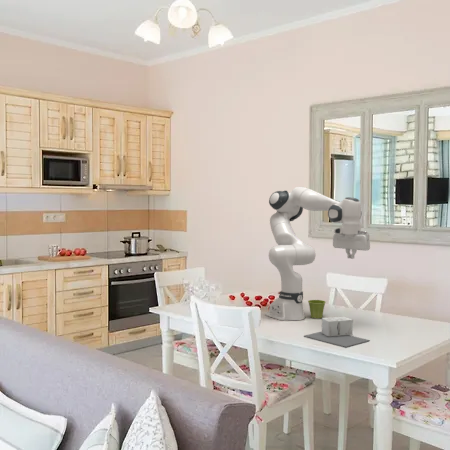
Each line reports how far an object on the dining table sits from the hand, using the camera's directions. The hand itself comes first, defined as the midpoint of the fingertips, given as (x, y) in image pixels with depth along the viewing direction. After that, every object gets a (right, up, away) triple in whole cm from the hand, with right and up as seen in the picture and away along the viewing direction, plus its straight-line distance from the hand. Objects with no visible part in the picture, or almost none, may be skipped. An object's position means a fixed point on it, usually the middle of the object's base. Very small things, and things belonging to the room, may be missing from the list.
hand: (350, 258), depth 272 cm
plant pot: (-13, -33, +22) cm, 42 cm away
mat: (-12, -35, -22) cm, 43 cm away
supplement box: (-4, -31, -14) cm, 34 cm away
